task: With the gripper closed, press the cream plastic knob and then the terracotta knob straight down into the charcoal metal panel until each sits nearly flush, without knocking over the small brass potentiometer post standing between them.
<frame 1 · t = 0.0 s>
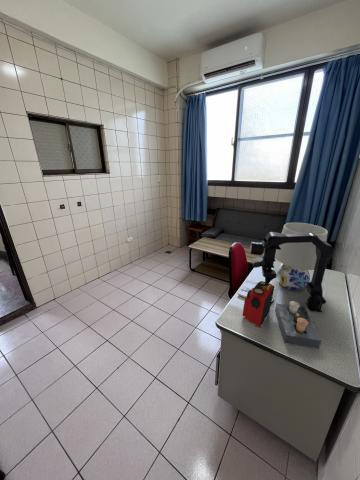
hand: (264, 279, 115), 15 cm above the table, fingers open, 9 cm apart
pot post: (296, 319, 100), point 5 cm above the table, touching panel
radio: (255, 316, 109), on the table
table lamp: (291, 284, 136), on the table
panel: (294, 327, 101), on the table
knob a: (293, 308, 104), point 7 cm above the table, slide at 0.0 cm
knob b: (301, 326, 93), point 7 cm above the table, slide at 0.0 cm
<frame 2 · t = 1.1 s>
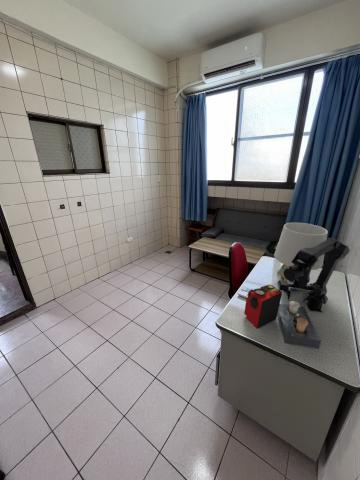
hand: (295, 301, 103), 12 cm above the table, fingers open, 7 cm apart
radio: (259, 318, 107), on the table
everything else where it was.
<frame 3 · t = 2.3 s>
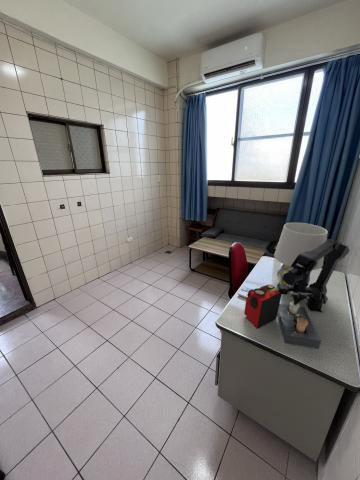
hand: (294, 304, 103), 9 cm above the table, fingers closed, pressing on knob a
knob a: (293, 309, 104), point 6 cm above the table, slide at 0.3 cm, touching gripper
everything else where it was.
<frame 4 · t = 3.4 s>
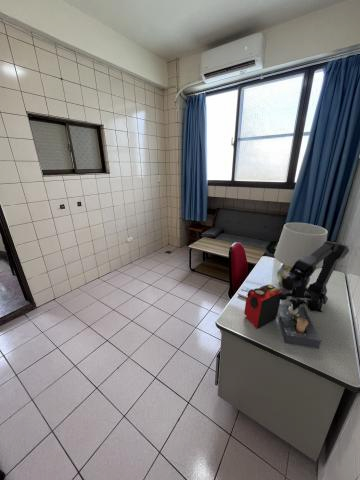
hand: (293, 309, 104), 6 cm above the table, fingers closed
knob a: (292, 313, 106), point 3 cm above the table, slide at 3.4 cm
everything else where it was.
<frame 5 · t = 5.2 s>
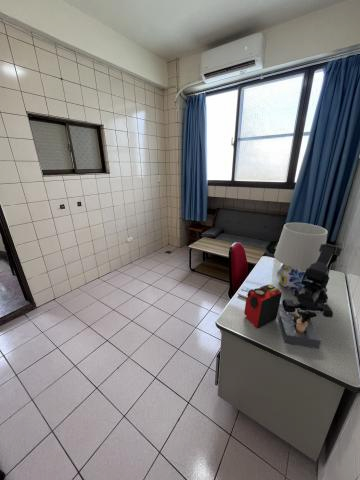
hand: (302, 322, 93), 9 cm above the table, fingers closed, pressing on knob b
knob b: (300, 327, 94), point 6 cm above the table, slide at 0.7 cm, touching gripper
everything else where it was.
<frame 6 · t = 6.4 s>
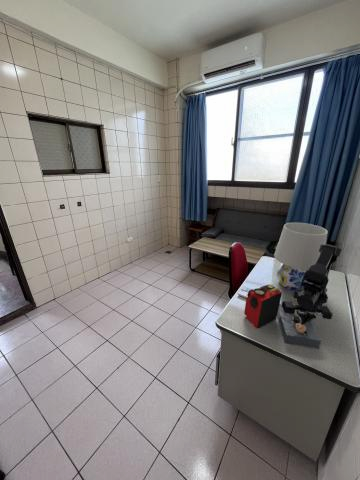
hand: (301, 323, 93), 8 cm above the table, fingers closed
knob b: (299, 331, 95), point 3 cm above the table, slide at 3.4 cm
everything else where it was.
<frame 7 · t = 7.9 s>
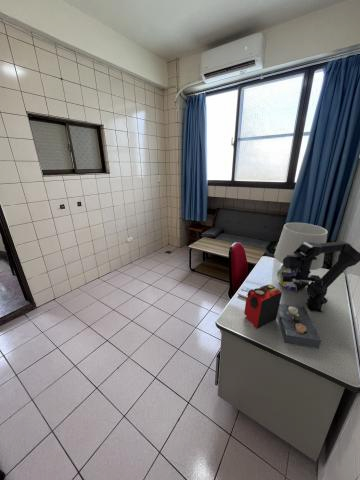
hand: (297, 291, 109), 12 cm above the table, fingers closed
nothing on the table moved.
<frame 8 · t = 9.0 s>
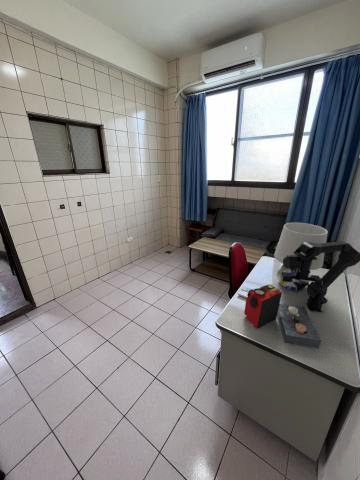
hand: (297, 291, 109), 12 cm above the table, fingers closed
nothing on the table moved.
at the end: knob a slide at 3.4 cm; knob b slide at 3.4 cm; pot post tilted 0° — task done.
